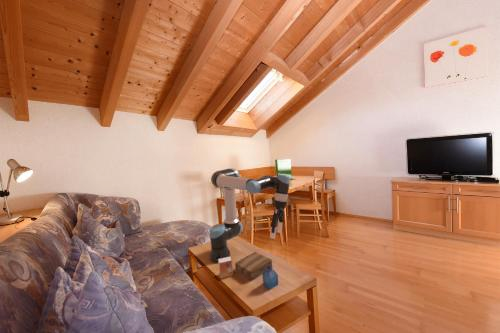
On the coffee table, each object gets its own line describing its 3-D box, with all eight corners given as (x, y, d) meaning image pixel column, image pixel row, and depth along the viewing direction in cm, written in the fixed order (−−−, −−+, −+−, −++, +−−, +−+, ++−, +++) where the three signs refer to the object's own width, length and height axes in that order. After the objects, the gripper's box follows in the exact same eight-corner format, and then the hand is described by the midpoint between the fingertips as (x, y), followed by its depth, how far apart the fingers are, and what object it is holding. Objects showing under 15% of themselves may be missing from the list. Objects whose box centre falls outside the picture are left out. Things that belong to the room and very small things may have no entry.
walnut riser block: (235, 271, 145) (235, 262, 145) (255, 259, 157) (255, 251, 156) (252, 281, 133) (251, 272, 133) (272, 268, 145) (271, 259, 144)
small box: (220, 279, 138) (218, 263, 137) (219, 274, 143) (217, 258, 142) (233, 275, 140) (231, 260, 139) (231, 271, 145) (230, 256, 144)
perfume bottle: (270, 289, 124) (268, 269, 122) (263, 284, 129) (261, 265, 127) (278, 284, 127) (276, 265, 126) (271, 279, 132) (269, 261, 131)
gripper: (281, 203, 119) (275, 242, 120) (291, 199, 142) (287, 231, 142) (268, 201, 122) (262, 239, 123) (280, 197, 145) (275, 229, 145)
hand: (275, 235), depth 132 cm, fingers open, 13 cm apart
